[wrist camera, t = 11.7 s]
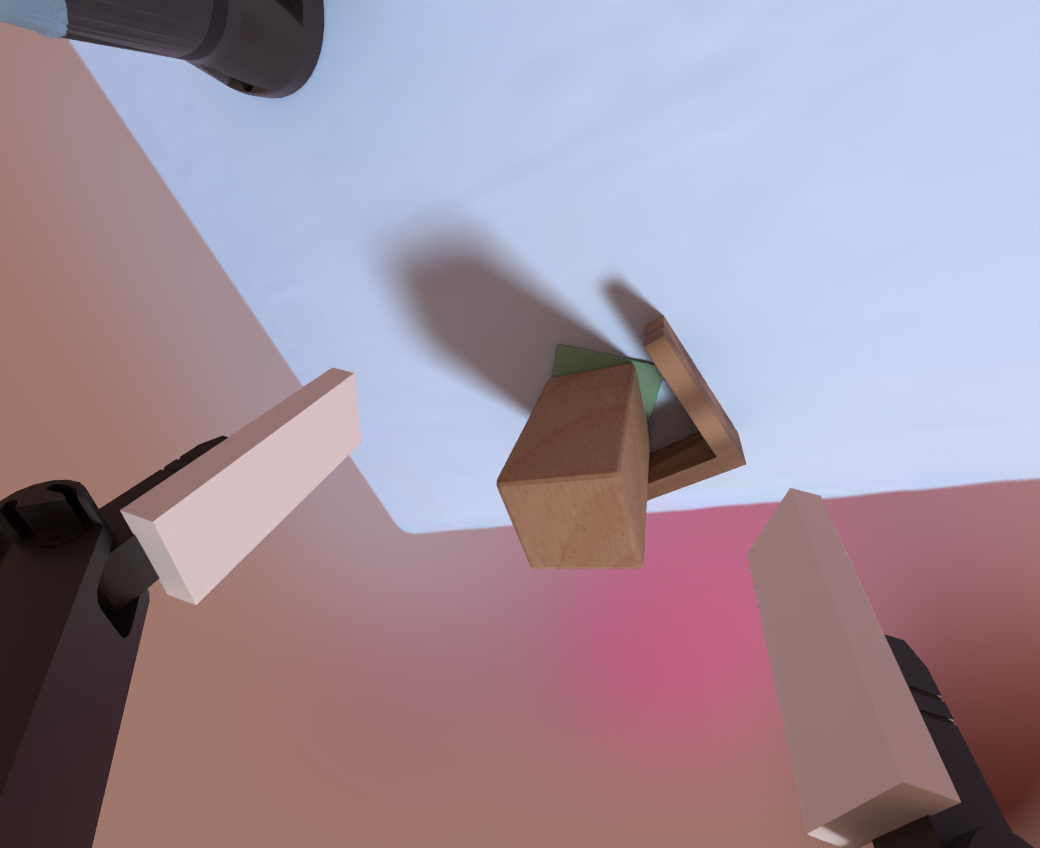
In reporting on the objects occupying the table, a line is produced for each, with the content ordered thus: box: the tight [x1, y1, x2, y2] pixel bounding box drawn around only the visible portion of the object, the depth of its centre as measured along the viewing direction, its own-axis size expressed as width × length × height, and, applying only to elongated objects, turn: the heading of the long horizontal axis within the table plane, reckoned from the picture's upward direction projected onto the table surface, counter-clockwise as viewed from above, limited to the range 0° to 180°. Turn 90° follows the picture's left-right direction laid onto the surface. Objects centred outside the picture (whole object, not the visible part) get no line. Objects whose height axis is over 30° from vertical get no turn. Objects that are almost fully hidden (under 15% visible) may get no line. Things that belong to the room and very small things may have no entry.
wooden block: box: [497, 363, 650, 569], centre depth 43 cm, size 10×10×20 cm
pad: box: [552, 344, 663, 424], centre depth 51 cm, size 12×12×1 cm
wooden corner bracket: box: [644, 316, 746, 501], centre depth 49 cm, size 16×20×6 cm
